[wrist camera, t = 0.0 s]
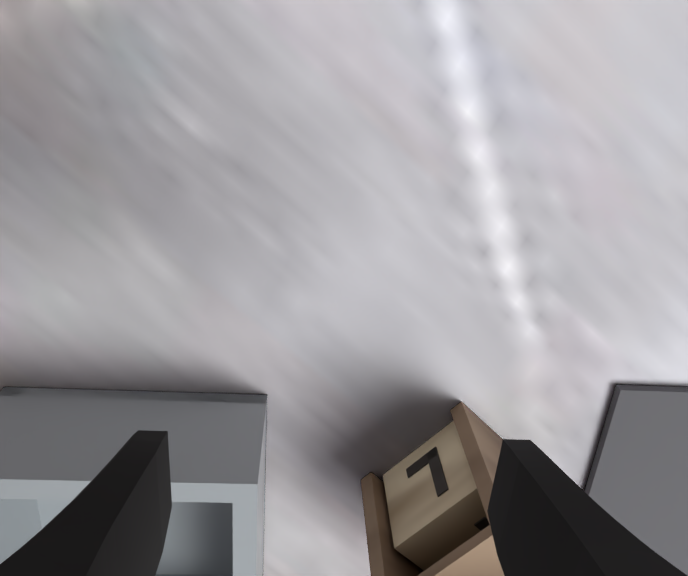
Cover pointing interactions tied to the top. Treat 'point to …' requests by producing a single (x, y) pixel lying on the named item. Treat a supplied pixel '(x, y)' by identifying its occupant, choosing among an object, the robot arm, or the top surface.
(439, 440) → the letter cube
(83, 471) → the grey bin
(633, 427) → the rubber mat
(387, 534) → the tan open box
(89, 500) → the robot arm
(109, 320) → the top surface
